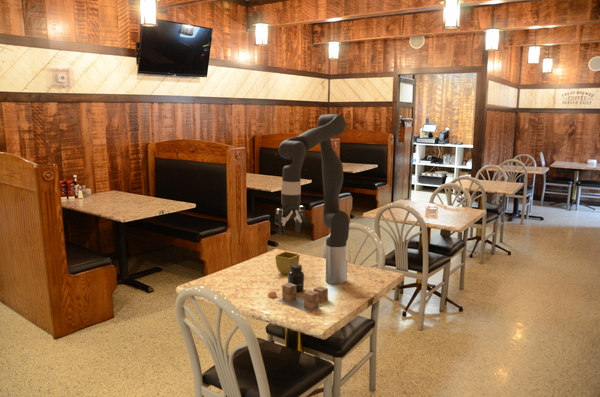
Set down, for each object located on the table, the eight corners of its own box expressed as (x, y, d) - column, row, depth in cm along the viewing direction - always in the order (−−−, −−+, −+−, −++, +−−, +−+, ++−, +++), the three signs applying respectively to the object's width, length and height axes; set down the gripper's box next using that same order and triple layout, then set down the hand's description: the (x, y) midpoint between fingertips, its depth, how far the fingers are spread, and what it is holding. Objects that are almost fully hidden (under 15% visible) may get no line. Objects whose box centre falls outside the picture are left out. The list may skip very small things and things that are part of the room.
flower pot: (300, 272, 234) (300, 254, 233) (290, 277, 227) (290, 258, 225) (285, 268, 239) (285, 251, 237) (274, 273, 232) (274, 255, 230)
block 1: (289, 296, 199) (289, 282, 198) (296, 299, 197) (296, 285, 196) (282, 299, 196) (282, 285, 195) (289, 301, 194) (289, 287, 193)
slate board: (292, 297, 202) (292, 294, 201) (323, 308, 190) (323, 305, 190) (277, 303, 195) (277, 300, 195) (308, 315, 184) (308, 312, 183)
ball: (272, 296, 203) (272, 288, 202) (278, 298, 200) (278, 290, 199) (265, 298, 200) (265, 290, 199) (271, 301, 198) (271, 292, 197)
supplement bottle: (298, 296, 203) (298, 269, 201) (284, 293, 206) (284, 266, 204) (306, 291, 208) (307, 264, 206) (293, 288, 212) (293, 262, 210)
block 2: (310, 304, 191) (311, 290, 190) (318, 307, 188) (318, 292, 187) (303, 307, 188) (304, 292, 187) (311, 310, 186) (311, 295, 185)
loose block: (320, 300, 199) (320, 286, 198) (327, 302, 196) (327, 288, 195) (313, 302, 196) (313, 288, 195) (321, 305, 194) (321, 291, 193)
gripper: (284, 195, 180) (283, 237, 183) (310, 192, 190) (309, 232, 193) (270, 192, 186) (270, 234, 188) (297, 190, 196) (296, 229, 198)
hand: (289, 233), depth 191 cm, fingers open, 8 cm apart
